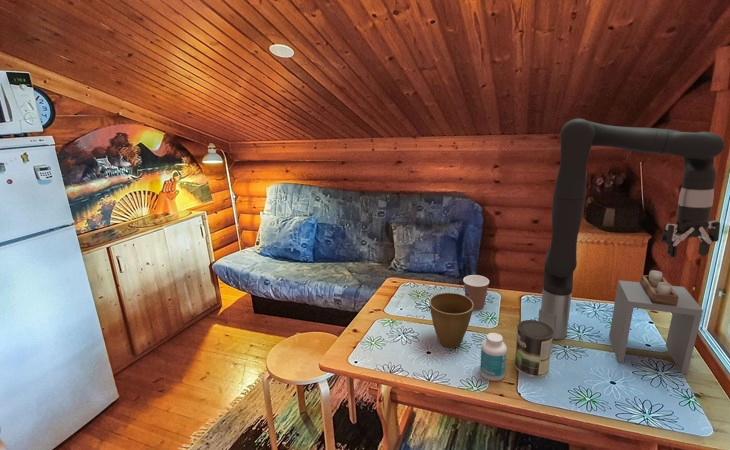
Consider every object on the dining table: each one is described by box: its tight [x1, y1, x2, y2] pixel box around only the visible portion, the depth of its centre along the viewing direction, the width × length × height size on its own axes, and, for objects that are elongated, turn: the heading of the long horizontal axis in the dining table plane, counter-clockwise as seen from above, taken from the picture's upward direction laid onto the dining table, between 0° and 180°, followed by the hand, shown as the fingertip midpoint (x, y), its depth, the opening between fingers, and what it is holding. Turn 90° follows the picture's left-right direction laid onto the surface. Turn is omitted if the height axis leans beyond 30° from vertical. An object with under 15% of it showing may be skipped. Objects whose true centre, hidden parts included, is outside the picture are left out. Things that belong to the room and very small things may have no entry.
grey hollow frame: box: [608, 279, 704, 375], centre depth 123 cm, size 15×18×22 cm
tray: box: [639, 270, 679, 306], centre depth 119 cm, size 14×6×5 cm, turn 158°
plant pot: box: [429, 292, 474, 349], centre depth 135 cm, size 15×15×16 cm
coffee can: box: [514, 319, 554, 378], centre depth 121 cm, size 10×10×14 cm
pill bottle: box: [479, 332, 508, 382], centre depth 119 cm, size 8×7×14 cm
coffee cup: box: [462, 274, 490, 311], centre depth 159 cm, size 10×10×12 cm
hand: (687, 255), depth 115 cm, fingers open, 8 cm apart
